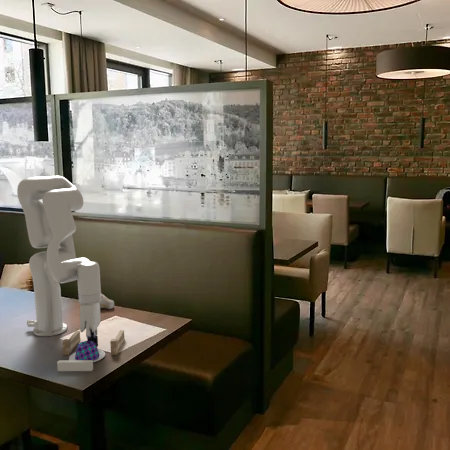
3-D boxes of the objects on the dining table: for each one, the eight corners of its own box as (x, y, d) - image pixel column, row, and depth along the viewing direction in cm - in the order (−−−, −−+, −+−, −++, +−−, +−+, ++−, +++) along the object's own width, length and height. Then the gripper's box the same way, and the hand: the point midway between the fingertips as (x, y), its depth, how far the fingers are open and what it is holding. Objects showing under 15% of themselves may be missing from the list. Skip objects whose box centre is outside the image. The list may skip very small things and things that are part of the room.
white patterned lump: (112, 312, 210) (99, 293, 208) (96, 319, 214) (83, 301, 212) (120, 302, 217) (107, 285, 214) (104, 309, 221) (91, 292, 218)
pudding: (89, 348, 173) (88, 334, 172) (112, 355, 167) (112, 341, 166) (61, 360, 163) (60, 345, 162) (85, 369, 157) (84, 353, 156)
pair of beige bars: (63, 355, 167) (62, 341, 166) (75, 339, 180) (74, 326, 179) (116, 354, 166) (116, 341, 166) (125, 339, 180) (124, 326, 179)
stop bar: (57, 371, 155) (57, 362, 154) (59, 369, 156) (58, 360, 156) (91, 371, 155) (91, 362, 154) (93, 368, 156) (92, 360, 156)
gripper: (85, 291, 174) (88, 339, 177) (72, 304, 160) (76, 356, 163) (106, 290, 174) (108, 339, 177) (95, 304, 160) (98, 356, 163)
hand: (93, 347), depth 170 cm, fingers closed
